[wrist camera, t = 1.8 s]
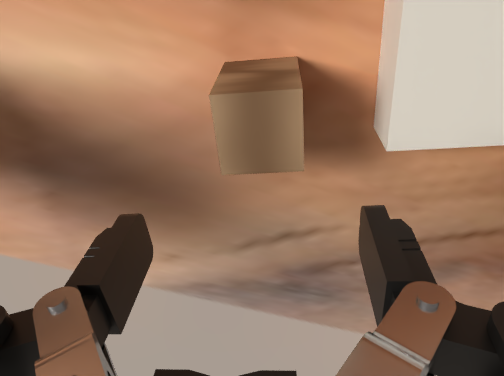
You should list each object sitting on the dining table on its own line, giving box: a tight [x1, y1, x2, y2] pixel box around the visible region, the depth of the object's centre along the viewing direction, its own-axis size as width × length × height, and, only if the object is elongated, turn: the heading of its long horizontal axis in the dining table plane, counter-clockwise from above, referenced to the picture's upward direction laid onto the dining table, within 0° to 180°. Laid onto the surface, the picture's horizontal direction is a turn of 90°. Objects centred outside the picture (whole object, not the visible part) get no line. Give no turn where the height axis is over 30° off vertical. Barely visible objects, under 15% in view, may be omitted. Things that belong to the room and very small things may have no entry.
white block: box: [374, 0, 504, 151], centre depth 21 cm, size 10×16×4 cm, turn 5°
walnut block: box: [209, 57, 304, 175], centre depth 24 cm, size 5×5×7 cm
